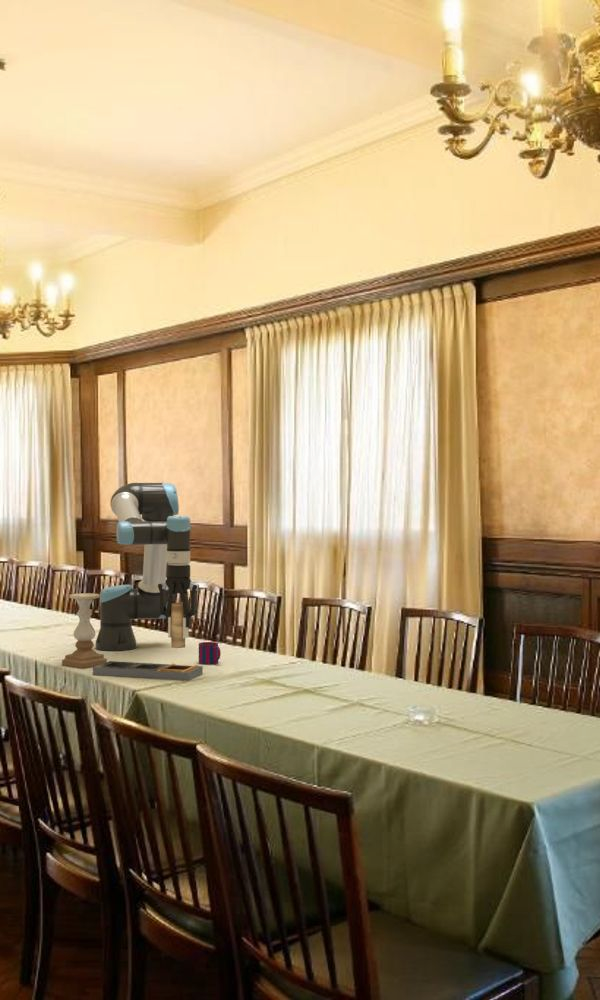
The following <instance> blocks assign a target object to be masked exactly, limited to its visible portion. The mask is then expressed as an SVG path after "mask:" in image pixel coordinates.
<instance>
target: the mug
mask: <svg viewBox="0 0 600 1000" xmlns="http://www.w3.org/2000/svg"><path fill="white" fill-rule="evenodd" d="M221 654H222V653H221V647H219V642H217V641H203V642H202V641H201V642H199V643H198V665H207V666H208V665H216V664H219V660H220V659H221Z"/></svg>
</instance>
